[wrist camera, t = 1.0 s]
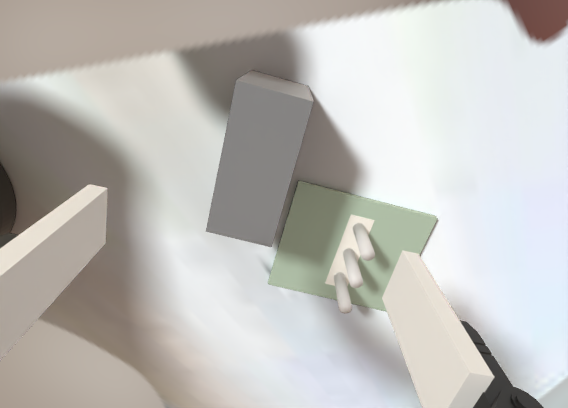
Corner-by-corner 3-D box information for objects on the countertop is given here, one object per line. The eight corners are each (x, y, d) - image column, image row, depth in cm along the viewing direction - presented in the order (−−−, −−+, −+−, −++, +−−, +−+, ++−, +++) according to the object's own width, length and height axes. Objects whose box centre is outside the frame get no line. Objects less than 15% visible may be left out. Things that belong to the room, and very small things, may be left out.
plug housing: (226, 187, 35) (205, 231, 27) (251, 69, 31) (236, 80, 22) (276, 199, 35) (271, 247, 27) (308, 86, 31) (313, 101, 23)
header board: (268, 280, 39) (264, 316, 34) (298, 180, 35) (299, 204, 29) (390, 309, 41) (404, 347, 35) (435, 215, 36) (459, 244, 31)
